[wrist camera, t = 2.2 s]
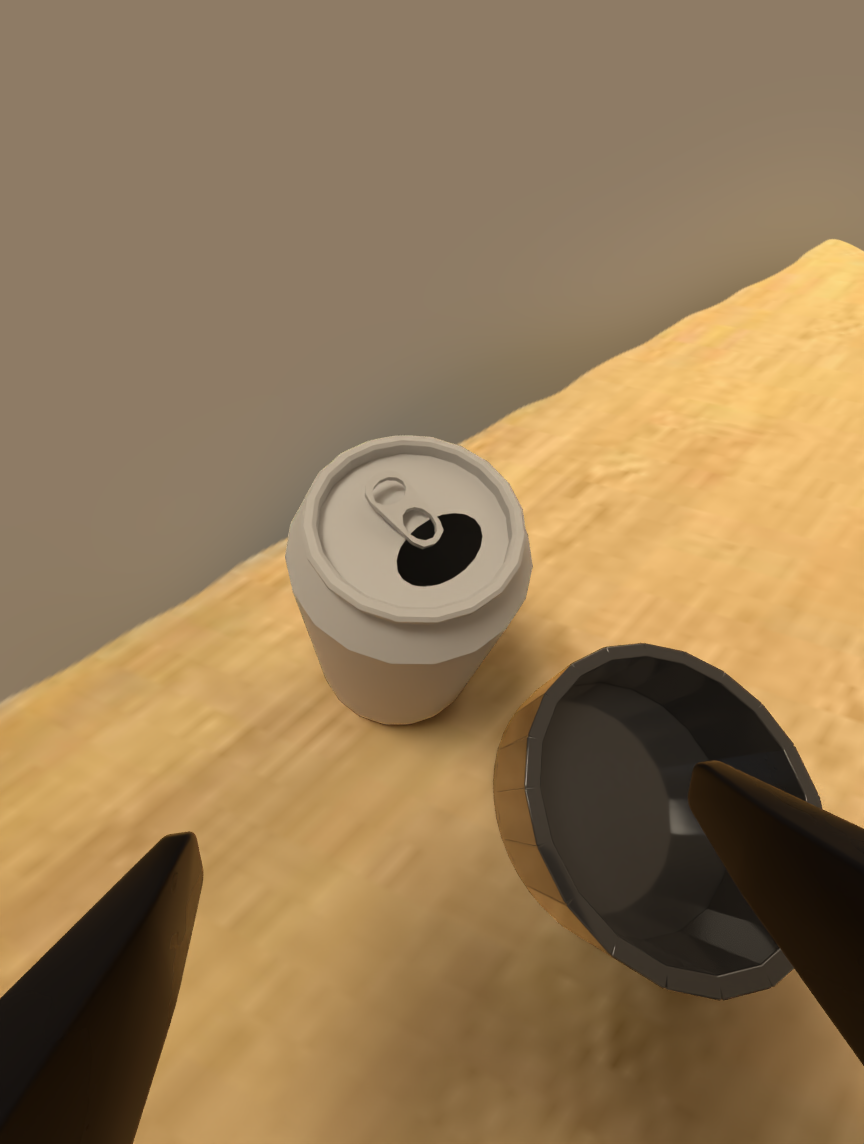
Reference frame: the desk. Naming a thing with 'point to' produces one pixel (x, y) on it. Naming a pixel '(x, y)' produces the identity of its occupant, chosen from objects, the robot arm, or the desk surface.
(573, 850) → the bowl
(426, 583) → the can
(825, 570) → the desk surface
